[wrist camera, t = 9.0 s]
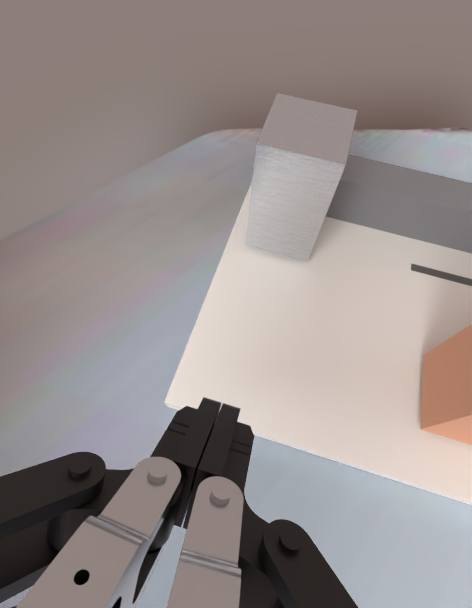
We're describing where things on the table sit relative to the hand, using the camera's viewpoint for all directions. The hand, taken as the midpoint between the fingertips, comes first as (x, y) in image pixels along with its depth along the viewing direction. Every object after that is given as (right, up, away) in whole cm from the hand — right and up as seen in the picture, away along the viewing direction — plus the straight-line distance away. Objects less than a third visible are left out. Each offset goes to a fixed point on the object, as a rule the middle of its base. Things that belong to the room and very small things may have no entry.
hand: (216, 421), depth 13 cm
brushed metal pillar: (+5, +11, +15) cm, 19 cm away
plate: (+10, +4, +14) cm, 17 cm away
